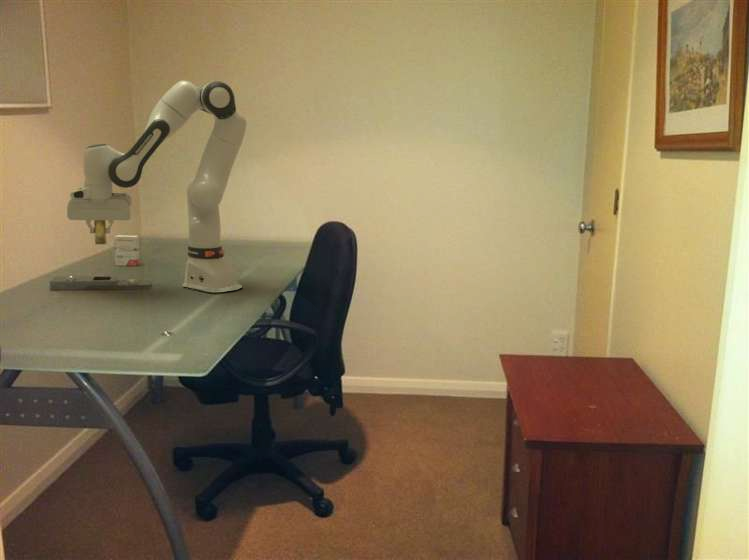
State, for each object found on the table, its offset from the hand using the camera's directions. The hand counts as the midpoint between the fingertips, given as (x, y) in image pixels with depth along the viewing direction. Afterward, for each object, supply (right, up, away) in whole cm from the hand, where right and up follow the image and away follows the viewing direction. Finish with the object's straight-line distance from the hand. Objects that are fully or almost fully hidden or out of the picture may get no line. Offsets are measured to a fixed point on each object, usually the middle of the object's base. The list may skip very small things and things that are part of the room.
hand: (100, 233), depth 239 cm
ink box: (-5, -10, +41) cm, 43 cm away
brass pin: (0, -4, +1) cm, 4 cm away
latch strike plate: (-1, -19, +4) cm, 19 cm away
